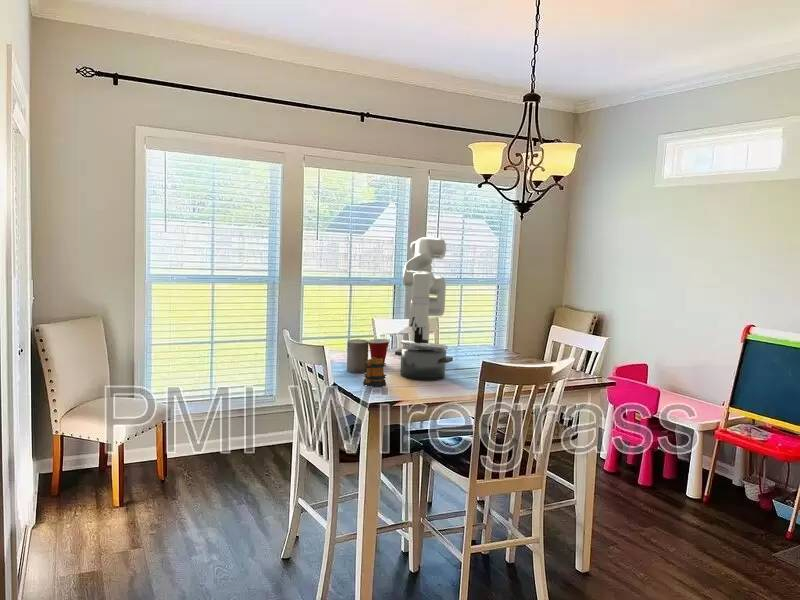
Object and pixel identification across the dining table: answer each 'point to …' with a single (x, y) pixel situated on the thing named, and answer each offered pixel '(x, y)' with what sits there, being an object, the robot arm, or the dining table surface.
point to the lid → (424, 344)
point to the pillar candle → (357, 355)
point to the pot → (423, 363)
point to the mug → (375, 373)
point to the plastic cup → (378, 348)
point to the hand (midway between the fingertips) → (418, 342)
